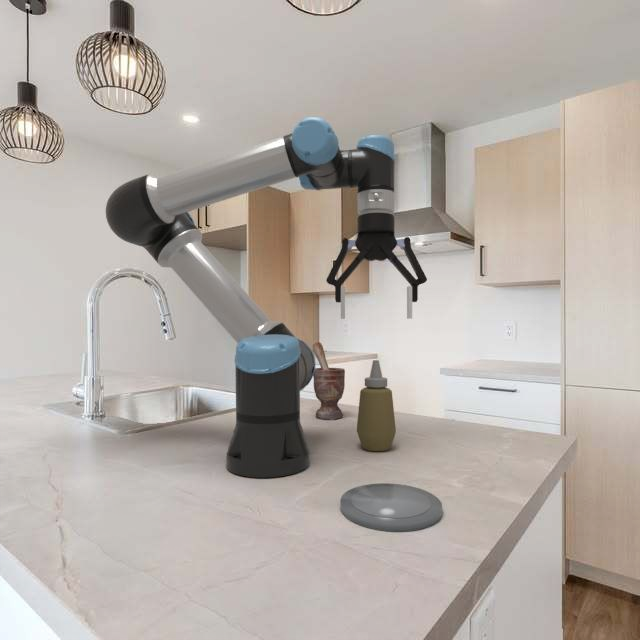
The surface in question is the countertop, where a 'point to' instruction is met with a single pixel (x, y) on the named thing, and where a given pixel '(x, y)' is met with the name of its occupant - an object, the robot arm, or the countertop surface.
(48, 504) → the countertop surface
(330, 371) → the mortar and pestle
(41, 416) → the countertop surface
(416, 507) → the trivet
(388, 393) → the squeeze bottle
